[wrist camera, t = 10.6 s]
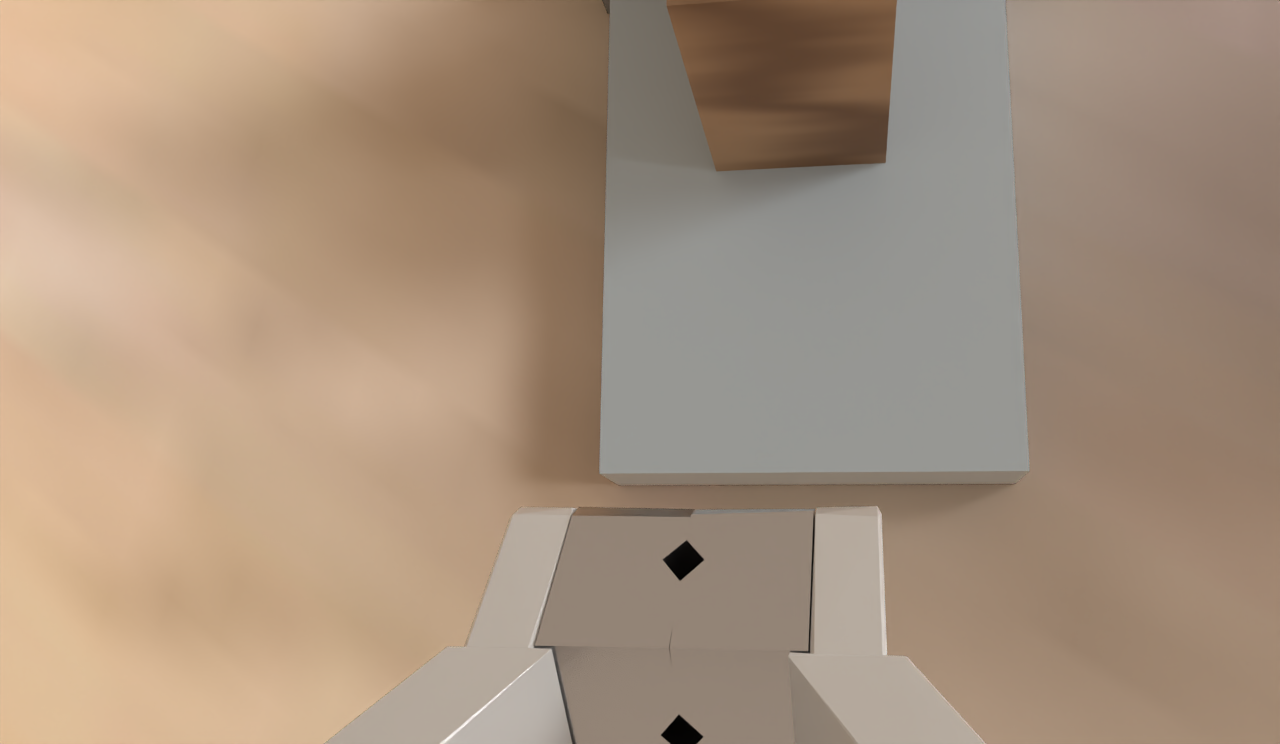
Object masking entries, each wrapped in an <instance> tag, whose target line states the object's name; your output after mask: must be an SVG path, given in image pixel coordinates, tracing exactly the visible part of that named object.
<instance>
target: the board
mask: <svg viewBox="0 0 1280 744" xmlns="http://www.w3.org/2000/svg"><path fill="white" fill-rule="evenodd" d="M1029 471H1030V468H1029V448H1028V429H1027V409H1026V390H1025V370H1024V351H1023V331H1022V312H1021V292H1020V272H1019V253H1018V233H1017V214H1016V194H1015V175H1014V155H1013V136H1012V116H1011V97H1010V77H1009V58H1008V38H1007V19H1006V0H897V7H896V21H895V36H894V50H893V65H892V79H891V93H890V108H889V122H888V137H887V151H886V163H874V164H854V165H834V166H814V167H794V168H774V169H754V170H734V171H716V169H715V166H714V162H713V159H712V156H711V152H710V149H709V146H708V143H707V139H706V136H705V133H704V129H703V126H702V123H701V119H700V116H699V113H698V109H697V106H696V103H695V99H694V96H693V93H692V89H691V86H690V83H689V79H688V76H687V73H686V69H685V66H684V63H683V59H682V56H681V53H680V49H679V46H678V43H677V39H676V36H675V33H674V29H673V26H672V23H671V19H670V16H669V13H668V9H667V6H666V0H610V20H609V65H608V109H607V154H606V198H605V243H604V287H603V332H602V376H601V421H600V465H599V474H601V475H602V476H604V477H606V478H607V479H609V480H611V481H612V482H614V483H616V484H617V485H834V484H1016V483H1017V482H1018V481H1019V480H1020V479H1021V478H1022V477H1024V476H1025V475H1026V474H1027V473H1028V472H1029Z"/></svg>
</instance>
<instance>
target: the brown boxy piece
mask: <svg viewBox="0 0 1280 744" xmlns="http://www.w3.org/2000/svg"><path fill="white" fill-rule="evenodd" d="M666 6H667V9H668V13H669V16H670V19H671V23H672V26H673V29H674V33H675V36H676V39H677V43H678V46H679V49H680V53H681V56H682V59H683V63H684V66H685V69H686V73H687V76H688V79H689V83H690V86H691V89H692V93H693V96H694V99H695V103H696V106H697V109H698V113H699V116H700V119H701V123H702V126H703V129H704V133H705V136H706V139H707V143H708V146H709V149H710V152H711V156H712V159H713V162H714V166H715V169H716V171H734V170H754V169H774V168H794V167H814V166H834V165H854V164H874V163H886V151H887V137H888V122H889V108H890V93H891V79H892V65H893V50H894V36H895V21H896V7H897V0H666Z"/></svg>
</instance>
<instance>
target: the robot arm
mask: <svg viewBox="0 0 1280 744" xmlns="http://www.w3.org/2000/svg"><path fill="white" fill-rule="evenodd" d="M324 744H986V743H985V742H984V741H983V740H982V739H981V737H980V736H979V735H978V734H977V733H976V732H975V731H974V730H973V729H972V728H971V726H970V725H969V724H968V723H967V722H966V721H965V720H964V719H963V718H962V717H961V715H960V714H959V713H958V712H957V711H956V710H955V709H954V708H953V707H952V705H951V704H950V703H949V702H948V701H947V700H946V699H945V698H944V697H943V696H942V694H941V693H940V692H939V691H938V690H937V689H936V688H935V687H934V686H933V684H932V683H931V682H930V681H929V680H928V679H927V678H926V677H925V676H924V675H923V673H922V672H921V671H920V670H919V669H918V668H917V667H916V666H915V665H914V664H913V662H912V661H911V660H910V659H909V658H908V657H907V656H893V655H887V637H886V612H885V587H884V562H883V537H882V514H881V512H880V510H879V508H878V506H853V507H817V509H816V513H815V509H734V510H695V509H650V508H603V507H579V508H578V509H576V508H560V507H520V508H519V509H518V510H517V511H516V512H515V513H514V514H513V515H512V516H511V518H510V519H509V522H508V525H507V527H506V530H505V533H504V536H503V539H502V542H501V544H500V547H499V550H498V553H497V556H496V558H495V561H494V564H493V567H492V570H491V572H490V575H489V578H488V581H487V584H486V587H485V589H484V592H483V595H482V598H481V601H480V603H479V606H478V609H477V612H476V615H475V617H474V620H473V623H472V626H471V629H470V631H469V634H468V637H467V640H466V643H465V646H464V647H446V648H444V649H443V650H442V651H441V652H439V653H438V654H437V655H436V656H434V657H433V658H432V659H430V660H429V661H428V662H427V663H425V664H424V665H423V666H422V667H420V668H419V669H418V670H417V671H415V672H414V673H413V674H411V675H410V676H409V677H408V678H406V679H405V680H404V681H403V682H401V683H400V684H399V685H397V686H396V687H395V688H394V689H392V690H391V691H390V692H389V693H387V694H386V695H385V696H384V697H382V698H381V699H380V700H378V701H377V702H376V703H375V704H373V705H372V706H371V707H370V708H368V709H367V710H366V711H365V712H363V713H362V714H361V715H359V716H358V717H357V718H356V719H354V720H353V721H352V722H351V723H349V724H348V725H347V726H345V727H344V728H343V729H342V730H340V731H339V732H338V733H337V734H335V735H334V736H333V737H332V738H330V739H329V740H328V741H326V742H325V743H324Z"/></svg>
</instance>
